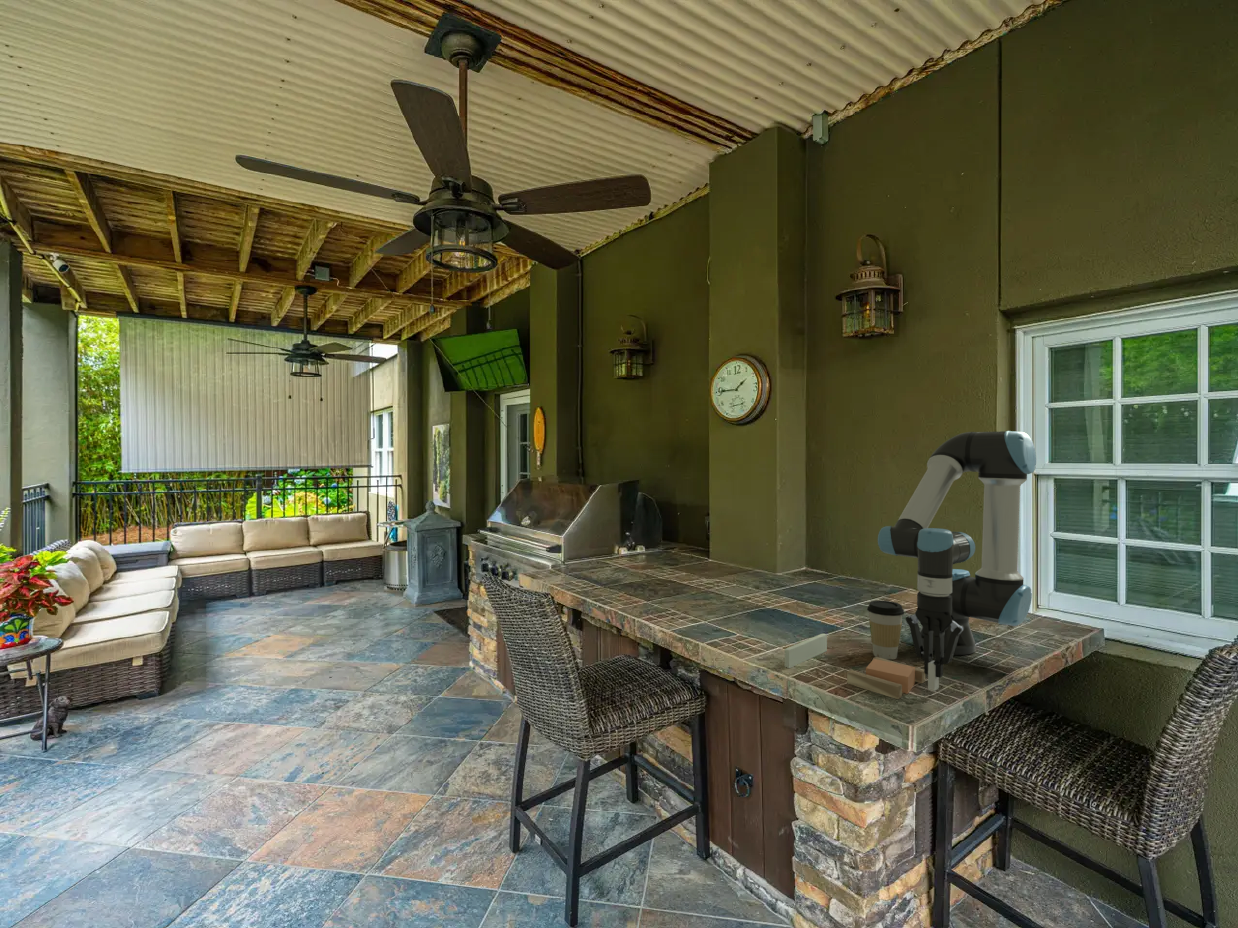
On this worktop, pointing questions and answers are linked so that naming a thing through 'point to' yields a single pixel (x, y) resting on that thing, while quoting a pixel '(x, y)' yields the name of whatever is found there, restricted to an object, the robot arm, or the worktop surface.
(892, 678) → the block
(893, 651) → the coffee cup
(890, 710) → the worktop surface
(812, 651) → the board
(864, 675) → the chute
